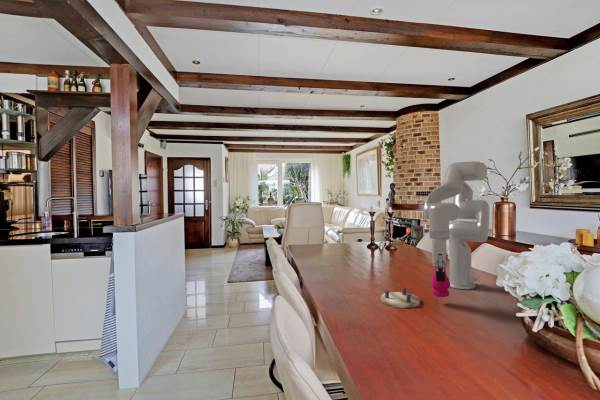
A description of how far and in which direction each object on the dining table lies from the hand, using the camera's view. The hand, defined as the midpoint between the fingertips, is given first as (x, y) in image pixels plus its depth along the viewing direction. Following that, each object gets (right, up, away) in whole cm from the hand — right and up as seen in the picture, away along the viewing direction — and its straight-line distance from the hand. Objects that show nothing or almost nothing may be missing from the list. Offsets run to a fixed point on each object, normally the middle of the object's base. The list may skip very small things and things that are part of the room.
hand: (440, 278), depth 131 cm
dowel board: (-15, -11, +4) cm, 19 cm away
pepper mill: (0, -7, 0) cm, 7 cm away
